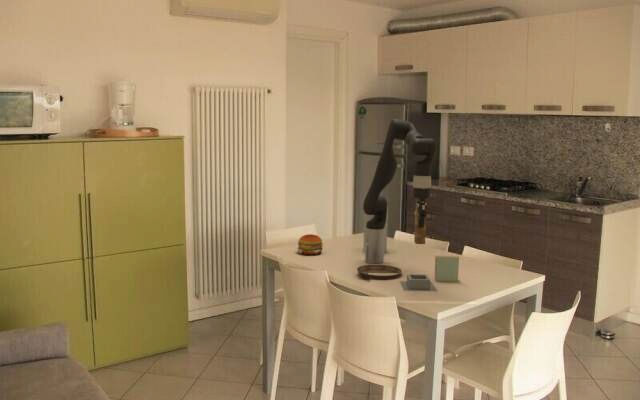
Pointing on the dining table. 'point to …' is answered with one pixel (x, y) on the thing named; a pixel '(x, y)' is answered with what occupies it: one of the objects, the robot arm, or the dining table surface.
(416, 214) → the wooden stick
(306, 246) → the burger
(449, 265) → the tile
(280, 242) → the dining table surface
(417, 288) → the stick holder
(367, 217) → the cylinder vase
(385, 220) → the robot arm
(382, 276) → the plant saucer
